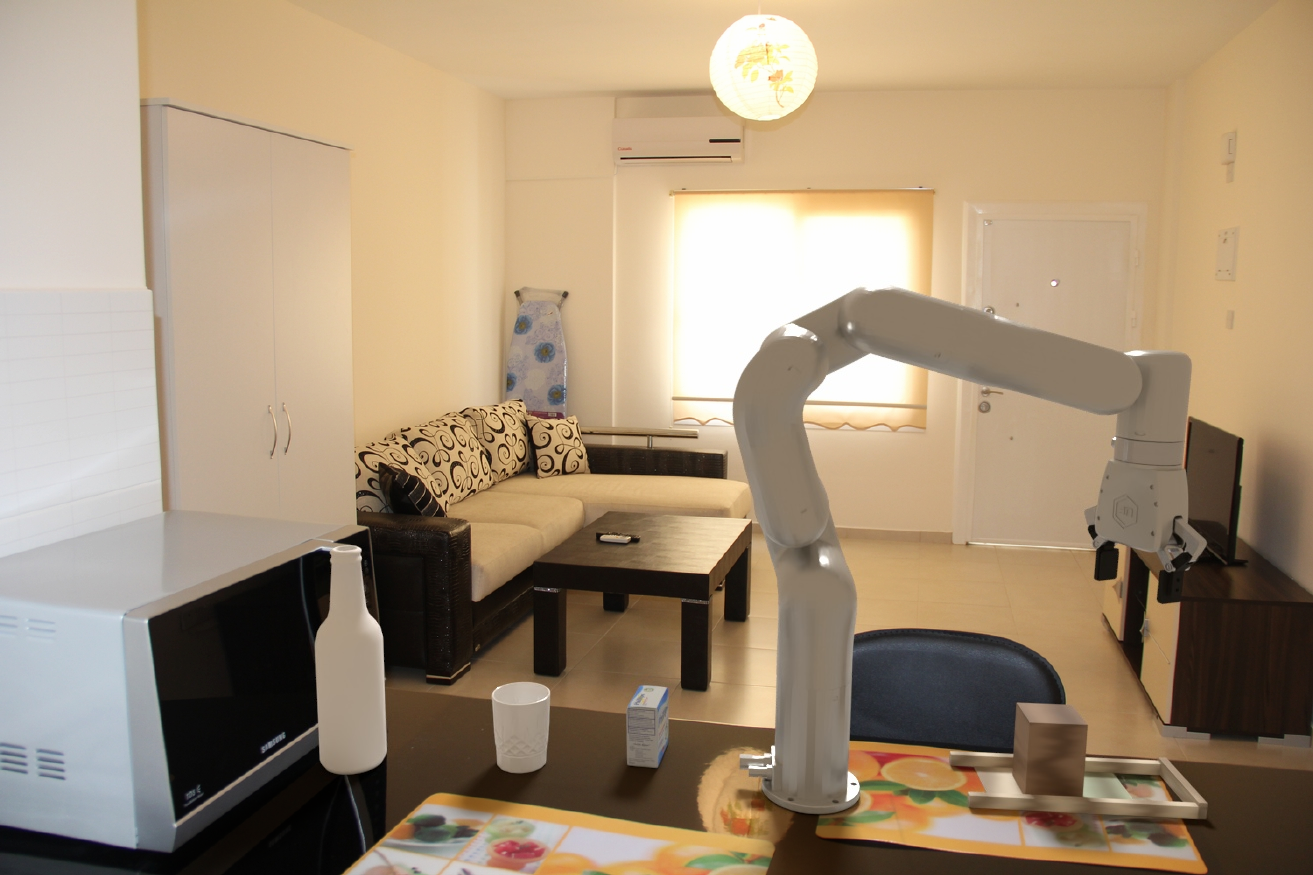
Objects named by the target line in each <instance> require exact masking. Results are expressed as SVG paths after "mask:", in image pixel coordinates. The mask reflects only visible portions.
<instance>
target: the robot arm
mask: <svg viewBox="0 0 1313 875" xmlns="http://www.w3.org/2000/svg"><path fill="white" fill-rule="evenodd" d="M869 354H871V355H875V356H878V357H881V358H884V359H888V360H892V361H895V362H899V363H903V364H907V365H910V366H914V367H917V368H920V369H924V370H927V371H931V372H935V373H938V374H940V375H941V374H942V375H944V376H949V377H952V378H954V379H955V378H956V379H959V380H962V381H966V382H969V383H973V384H975V385H976V384H977V385H979V386H986V387H991V388H996V389H997V388H998V389H1002V390H1008V391H1012V392H1016V393H1020V394H1023V395H1027V396H1030V397H1033V398H1037V399H1041V400H1045V401H1049V402H1051V403H1055V404H1059V405H1062V406H1065V407H1069V408H1072V409H1077V410H1080V411H1083V412H1086V413H1087V412H1088V413H1090V414H1094V415H1097V416H1112V415H1117V416H1116V422H1115V423H1116V424H1115V437H1114V438H1112V439H1111V441H1110V442H1111V443H1110V444H1111V447H1112V448H1113V458H1110V459H1108V460H1107V463H1106V466H1105V469H1104V472H1103V476H1102V479H1101V482H1100V487H1099V492H1098V493H1099V494H1098V498H1097V499H1098V500H1097V505H1094V506H1092V507H1088V508H1086V509H1084V517H1085V518H1084V519H1085V520H1086V525H1087V532H1088V535H1090V537H1091V539H1092V543H1091V544H1092V547H1093V549H1096V551H1095V561H1094V562H1095V563H1094V571H1093V572H1094V573H1093V579H1094V580H1095V581H1098V582H1102V581H1111V580H1116V579H1117V577H1118V569H1119V560H1120V559H1119V557H1120V549H1119V548H1118V547H1116V546H1117V545H1118V544H1120V545H1121V546H1126V547H1128V548H1132V549H1136V550H1139V551H1143V552H1147V553H1156V555H1157V556H1158V558H1159V560H1160V562H1161V564H1162V567H1163V569H1160V570H1159V572H1158V581H1157V583H1158V584H1157V591H1156V593H1157V594H1156V602H1157V603H1159V604H1161V605H1166V604H1174V603H1175V604H1176V603H1180V602H1181V600H1182V593H1183V585H1184V576H1185V571H1189V570H1190V568H1191V566H1192V565H1194V564H1195V563H1197V562H1198V561H1199V560H1200V556H1201V554H1203V551H1204V550H1205V549H1206V546H1207V544H1208V542H1207V540H1206V538H1204V537H1203V536H1202V535H1201V534H1200V533H1199V532H1197V531H1196V529H1194V528H1193V527H1192V526H1191V525H1190V524H1189V523H1188V521H1189V487H1188V478H1187V472H1186V471H1187V470H1186V468H1183V464H1184V455H1185V444H1186V432H1187V431H1186V430H1187V423H1188V421H1187V420H1188V412H1189V402H1190V390H1191V384H1192V383H1191V381H1192V372H1193V371H1192V370H1193V364H1192V359H1191V357H1190V356H1189V355H1188V354H1186V353H1184V352H1181V351H1175V350H1164V349H1163V350H1161V349H1138V350H1137V349H1136V350H1131V351H1124V350H1123V351H1122V350H1116V349H1113V348H1109V347H1104V346H1102V345H1098V344H1094V343H1090V342H1087V341H1084V340H1080V339H1075V338H1073V337H1069V336H1066V335H1063V334H1062V335H1061V334H1059V333H1054V332H1050V331H1047V330H1044V329H1040V328H1036V327H1033V326H1030V325H1027V324H1025V323H1021V322H1018V321H1015V320H1013V319H1010V318H1008V317H1004V316H1002V315H998V314H994V313H991V312H988V311H985V310H981V309H978V308H973V307H969V306H966V305H963V304H959V303H955V302H951V301H948V300H945V299H941V298H937V297H933V296H930V295H926V294H923V293H920V292H916V291H913V290H908V289H905V288H901V287H897V286H895V285H890V284H884V283H873V284H866V285H865V284H863V285H862V286H859V287H856V288H855V289H852V290H850V291H849V292H847V293H846V294H844V295H841V296H840V297H838V298H836V299H834V300H833V301H830V302H828V303H826V304H824V305H822V306H820V307H819V308H816V309H815V310H812V311H811V312H808V313H806V314H805V315H802V316H800V317H798V318H796V319H794V320H792V321H790V322H788V323H786V324H784V325H782V326H780V327H777V328H776V329H774V330H773V331H771V332H770V333H769V334H768V335H767V336H766V337H765V338H764V339H763V341H762V343H761V345H760V347H759V350H757V352H756V353H754V356H753V357H752V358H751V359H750V360H749V361H748V363H747V364H746V366H745V367H744V369H743V370H742V372H741V374H740V377H739V379H738V381H737V384H736V388H735V390H734V394H733V400H732V422H733V427H734V428H733V429H734V433H735V437H736V440H737V445H738V449H739V452H740V456H741V460H742V464H743V468H744V471H745V475H746V479H747V481H748V486H749V489H750V492H751V497H752V500H753V501H752V502H753V510H754V515H755V518H756V521H757V523H758V525H759V526H760V528H761V530H762V533H763V536H764V541H765V544H766V546H767V549H768V550H767V551H768V552H769V553H768V554H769V556H770V559H771V562H772V563H771V564H772V566H773V570H774V572H775V577H776V582H777V584H776V587H777V595H778V597H777V598H778V599H777V600H778V603H777V604H778V606H777V607H778V608H777V609H778V611H777V612H778V614H777V615H778V616H777V618H778V620H777V621H778V622H777V639H776V641H777V642H776V666H775V668H776V670H775V671H776V680H775V681H776V685H775V723H774V724H775V725H774V726H775V727H774V745H771V749H770V750H771V751H770V752H769V753H767V752H764V753H763V755H754V754H750V753H749V754H747V753H739V770H748V777H749V778H761V789H762V791H763V793H764V795H765V796H766V797H767V798H768V799H769V800H770V801H772V803H774V804H776V805H778V806H780V807H781V808H784V809H787V810H790V811H792V812H793V811H794V812H798V813H803V814H809V815H810V814H811V815H812V814H813V815H825V814H828V815H829V814H834V813H838V812H842V811H845V810H847V809H849V808H851V807H853V806H854V805H855V804H856V803H857V801H858V800H859V799H860V796H861V795H860V794H861V786H860V782H859V780H858V779H857V777H856V776H854V774H852V772H850V771H849V763H850V762H849V760H850V759H849V758H850V733H851V730H850V728H851V708H852V682H853V678H852V675H853V673H852V672H853V654H854V652H853V651H854V641H855V640H854V639H855V630H856V623H857V615H858V594H857V593H858V592H857V587H856V583H855V581H854V577H853V574H852V573H851V570H850V568H849V566H848V564H847V560H846V558H845V556H844V553H843V549H842V547H841V543H840V540H839V536H838V534H837V529H836V526H835V522H834V520H833V516H832V512H831V509H830V503H829V502H830V500H829V497H828V492H827V490H826V488H825V486H824V483H823V481H822V480H821V478H820V476H819V473H818V471H817V468H816V464H815V461H814V457H813V454H812V451H811V448H810V447H811V446H810V441H809V438H808V437H809V436H808V434H807V432H806V427H805V424H804V407H805V405H806V402H807V400H808V398H809V396H811V394H813V392H815V391H816V390H817V389H818V388H819V387H820V386H821V385H822V384H823V382H824V380H825V379H826V377H827V376H828V375H830V374H832V373H835V372H837V371H838V370H841V369H843V368H845V367H847V366H849V365H850V364H853V363H855V362H857V361H859V360H861V359H862V358H864V357H866V356H868V355H869ZM1185 543H1186V547H1185V548H1184V546H1185ZM1183 548H1184V550H1183ZM1170 553H1171V554H1172V555H1171V554H1170Z"/></svg>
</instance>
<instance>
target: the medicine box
mask: <svg viewBox="0 0 1313 875" xmlns="http://www.w3.org/2000/svg"><path fill="white" fill-rule="evenodd" d="M625 712H626V714H625V715H626V717H625V718H626V719H625V720H626V721H625V722H626V765H627V766H632V767H638V768H639V767H641V768H650V769H651V768H653V769H658V768H659V766H660V763H661V761H662V760H663V756H664V754H665V751H666V749H667V746H668V745H669V688H668V687H667V686H666V687H665V686H661V685H660V686H658V685H645V684H644V685H639V686H638V688H637V690H636V691H635V694H634V695H633V697H632V698H631V700H630V702H629V704H628V705H627V706H626V711H625Z"/></svg>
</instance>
